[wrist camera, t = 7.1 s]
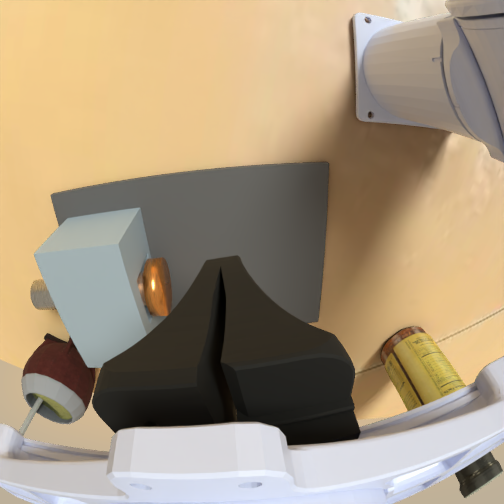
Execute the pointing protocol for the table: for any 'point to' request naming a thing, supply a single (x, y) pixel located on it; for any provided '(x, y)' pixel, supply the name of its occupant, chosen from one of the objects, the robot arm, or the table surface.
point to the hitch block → (99, 281)
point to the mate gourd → (57, 382)
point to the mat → (228, 224)
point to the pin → (149, 283)
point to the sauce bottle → (431, 390)
